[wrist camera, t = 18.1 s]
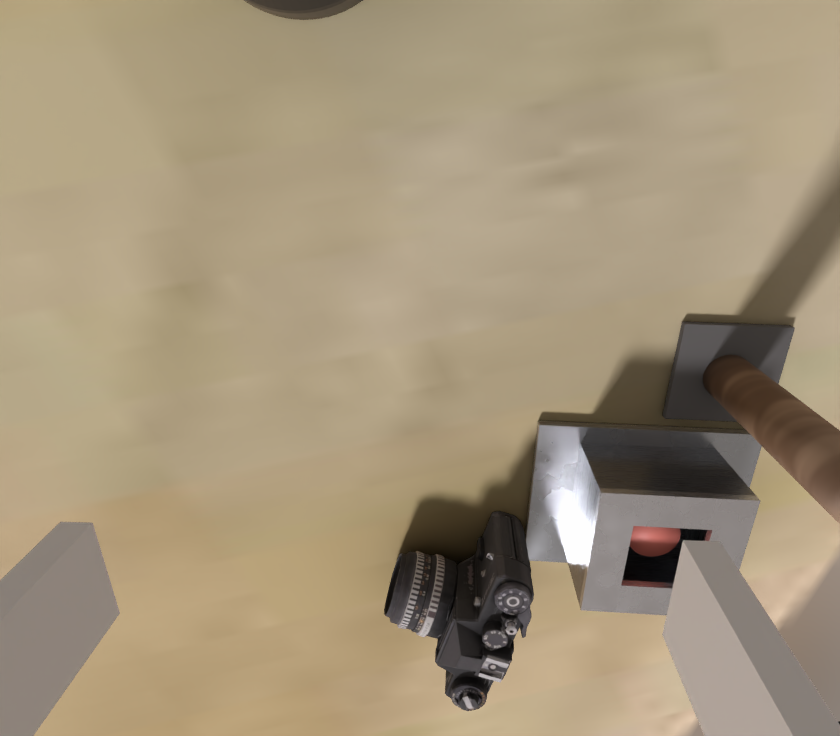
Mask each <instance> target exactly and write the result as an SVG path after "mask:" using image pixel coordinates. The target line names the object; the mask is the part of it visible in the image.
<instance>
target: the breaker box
mask: <svg viewBox="0 0 840 736" xmlns="http://www.w3.org/2000/svg"><path fill="white" fill-rule="evenodd" d="M761 447H762V446H761V445H760V444H759V443H758V442H757V441H756V440H755V439H754V438H753V437H752V436H751V435H750V433H749V432H748V431H747V430H741V429H718V428H695V427H673V426H650V425H628V424H605V423H582V422H560V421H538V426H537V435H536V443H535V452H534V461H533V470H532V478H531V487H530V496H529V505H528V513H527V522H526V531H525V538H526V544H527V550H528V557H529V560H530V561H548V562H566V563H568V565H569V568H570V572H571V576H572V579H573V583H574V587H575V590H576V594H577V598H578V601H579V605H580V609H581V610H587V611H604V612H620V613H637V614H654V615H667V611H668V607H669V602H670V598H671V593H672V588H673V584H674V579H675V574H676V570H677V565H678V561H679V556H680V551H681V547H682V542H683V540H691V541H720V542H721V544H722V545H723V547H724V548H725V550H726V552H727V553H728V555H729V556H730V558H731V559H732V561H733V562H734V564H735V565H736V567H737V568H738V570H739V569H740V566H741V562H742V559H743V556H744V553H745V549H746V546H747V543H748V540H749V536H750V533H751V530H752V527H753V523H754V520H755V517H756V514H757V510H758V507H759V504H760V500H759V499H758V497H757V496H756V495H755V494H754V493H753V492H752V490H751V489H750V488H749V487H750V484H751V481H752V477H753V474H754V470H755V467H756V464H757V460H758V457H759V453H760V450H761ZM633 526H645V527H664V528H680V532H681V535H680V540H679V542H678V544H677V545H676V546H675V547H674V548H673V549H672V550H671V551H669V552H668V553H666V554H663V555H660V556H654V557H649V556H643V555H640V554H638V553H636V552H635V551H634V550H633V549H632V548H631V547H630V540H631V536H632V531H633Z"/></svg>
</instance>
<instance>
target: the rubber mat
mask: <svg viewBox="0 0 840 736" xmlns="http://www.w3.org/2000/svg"><path fill="white" fill-rule="evenodd" d="M794 329H795V328H794V327H792V326H790V325H764V324H736V323H708V322H682V325H681V330H680V335H679V339H678V344H677V349H676V354H675V358H674V363H673V368H672V373H671V377H670V382H669V387H668V392H667V396H666V401H665V406H664V411H663V416H664V418H665V419H687V420H710V421H733V422H738V421H737V420H736V419H735V418H734V417H733V416H732V415H731V414H730V413H729V412H728V411H727V410H726V409H725V408H724V407H723V406H722V405H721V404H720V403H719V402H718V401H717V400H716V399H715V398H714V397H713V396H712V395H711V394H710V393H709V392H708V391H707V390H706V389H705V387H704V385H703V374H704V371H705V369H706V368H707V366H708V365H709V364H710V363H711V362H712V361H714V360H715V359H717V358H719V357H721V356H725V355H738V356H741V357H743V358H744V359H746V360H747V361H748V362H750V363H751V364H752V365H754V366H755V367H756V368H757V369H759V370H760V371H761V372H763V373H764V374H765V375H767V376H768V377H769V378H771V379H772V380H773V381H775V382H776V383H777V384H778V383H779V380H780V376H781V373H782V370H783V366H784V363H785V359H786V356H787V353H788V349H789V346H790V342H791V339H792V336H793V332H794Z"/></svg>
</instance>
